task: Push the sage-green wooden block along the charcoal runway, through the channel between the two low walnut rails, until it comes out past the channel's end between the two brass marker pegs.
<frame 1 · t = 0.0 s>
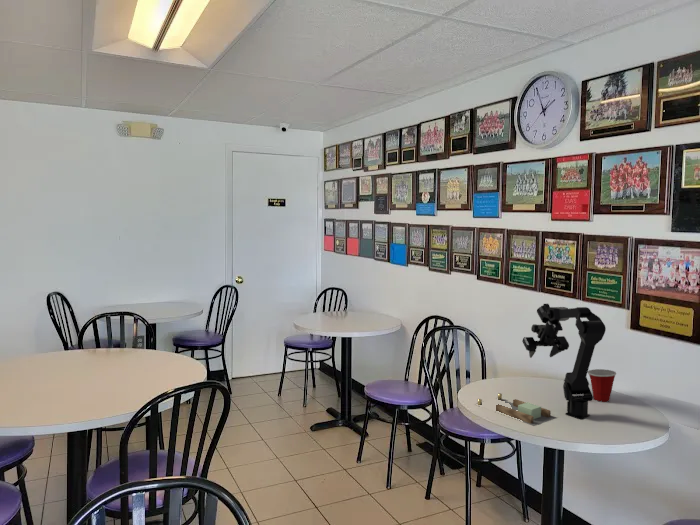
hand: (540, 356, 233), 15 cm above the table, tool tilted 35°, fingers open, 9 cm apart
plastic cup: (600, 400, 222), on the table
charcoal runway: (514, 411, 208), on the table
walnut channel: (522, 414, 205), on the table
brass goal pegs: (489, 402, 218), on the table
sage block: (529, 416, 202), resting on charcoal runway
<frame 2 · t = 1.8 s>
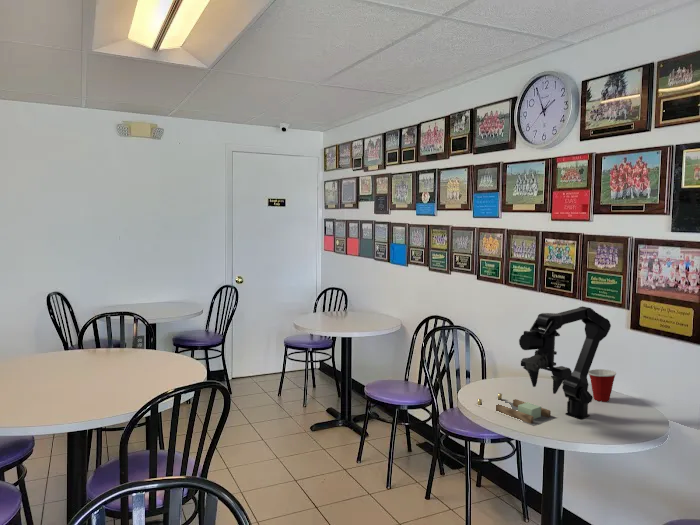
hand: (544, 390, 196), 12 cm above the table, tool pointing down, fingers open, 9 cm apart
nothing on the table moved.
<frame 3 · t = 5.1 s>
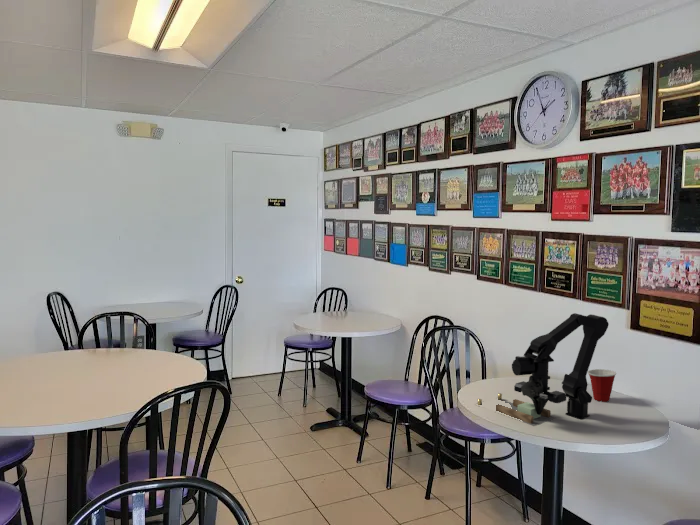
hand: (538, 414, 199), 2 cm above the table, tool pointing down, fingers closed
sage block: (528, 415, 203), resting on charcoal runway, touching gripper
everything else where it was.
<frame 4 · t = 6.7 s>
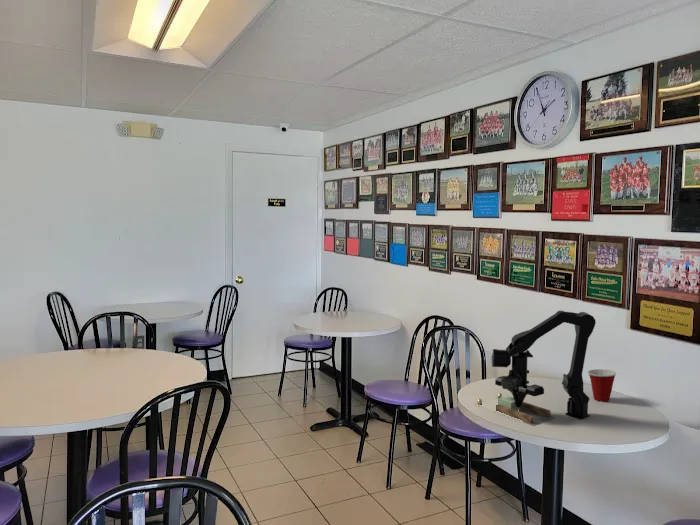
hand: (518, 407, 206), 2 cm above the table, tool pointing down, fingers closed
sage block: (509, 409, 210), resting on charcoal runway, touching gripper
everything else where it was.
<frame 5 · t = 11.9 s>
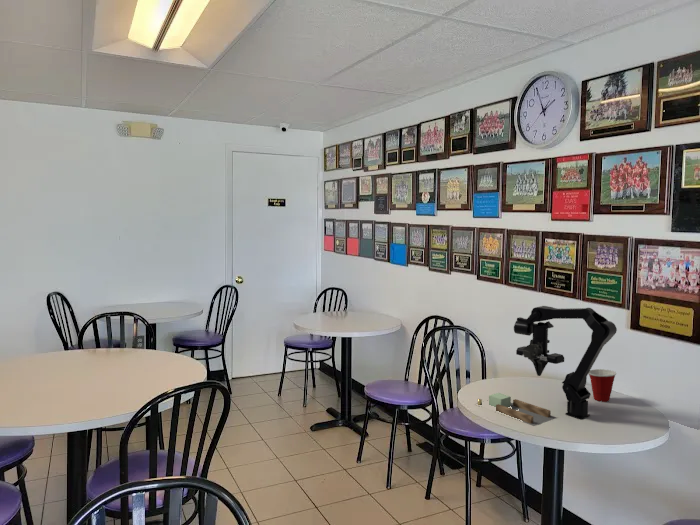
hand: (539, 375, 214), 12 cm above the table, tool pointing down, fingers closed
sage block: (499, 405, 214), resting on charcoal runway
everything else where it was.
at the end: sage block inside the target area (2.9 cm from its centre), resting on charcoal runway; sage block tilted 0° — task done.
